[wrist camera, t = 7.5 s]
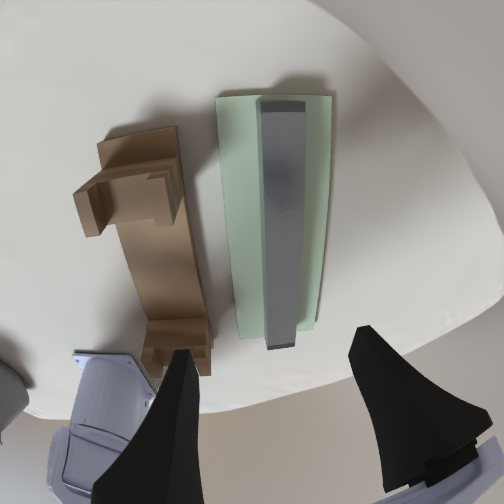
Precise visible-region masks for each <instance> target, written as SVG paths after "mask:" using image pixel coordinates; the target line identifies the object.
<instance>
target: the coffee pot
mask: <svg viewBox="0 0 504 504" xmlns="http://www.w3.org/2000/svg"><path fill="white" fill-rule="evenodd" d="M28 404H29V396H28V392H27V390H26V388H25V386H24V382H23V380H22V379H21V378H20V376H19V375H18V374H17V373H16V372H15V371H13V370H12V369H11V368H10V367H8V366H7V365H6V364H4V363H3V362H1V361H0V444H1V445H2V442H1V432H2V431H3V430H4V429H5V428H6V427H7V426H8V425H9V424H10V423H11V422H12V421H13V420H14V419H15V418H16V417H17V416H18V415H19V413H21V412H22V411H23V410H24V409H25V408H26V407H27V406H28Z"/></svg>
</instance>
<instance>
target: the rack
mask: <svg viewBox="0 0 504 504" xmlns="http://www.w3.org/2000/svg"><path fill="white" fill-rule="evenodd" d="M97 148H98V153H99V158H100V163H101V168H102V170H101V171H100V172H99V173H97V174H96V175H95V176H94V177H92V178H91V179H90V180H89V181H88V182H86V183H85V184H84V185H83V186H82V187H80V188H79V189H78V190H77V191H76V192H75V193H73V197H74V201H75V204H76V208H77V211H78V215H79V218H80V221H81V224H82V227H83V230H84V233H85V236H86V237H93V236H100V234H101V233H102V231H103V230H104V229H105V227H106V226H107V225H110V224H115V225H116V228H117V232H118V235H119V238H120V242H121V245H122V248H123V251H124V254H125V258H126V261H127V264H128V267H129V270H130V272H131V275H132V278H133V281H134V284H135V287H136V289H137V292H138V295H139V297H140V300H141V303H142V305H143V308H144V310H145V313H146V315H147V318H148V320H149V322H148V327H147V331H146V336H145V341H144V346H143V352H142V357H141V361H142V363H143V365H144V366H145V368H146V370H147V371H148V373H149V375H150V377H151V378H161V377H162V368H163V366H169V363H170V361H171V358H172V355H173V351H175V350H180V349H190V352H191V355H192V358H193V361H194V363H195V365H196V367H197V370H198V372H199V375H200V376H211V348H213V337H212V332H211V328H210V324H209V319H208V315H207V310H206V305H205V301H204V296H203V291H202V286H201V281H200V276H199V271H198V266H197V260H196V255H195V250H194V244H193V239H192V233H191V227H190V221H189V215H188V209H187V202H186V196H185V189H184V182H183V175H182V168H181V161H180V153H179V145H178V137H177V128H176V126H174V127H168V128H162V129H156V130H150V131H145V132H140V133H135V134H130V135H125V136H121V137H116V138H112V139H108V140H104V141H101V142H99V143H97Z"/></svg>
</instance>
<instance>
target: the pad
mask: <svg viewBox="0 0 504 504" xmlns="http://www.w3.org/2000/svg"><path fill="white" fill-rule="evenodd" d="M265 100H298V101H305V104H306V164H305V203H304V228H303V247H302V264H301V279H300V292H299V305H298V316H297V327H296V332H300V331H307V330H313V329H314V323H315V316H316V309H317V302H318V295H319V288H320V280H321V271H322V263H323V254H324V244H325V234H326V223H327V210H328V197H329V181H330V161H331V128H332V96H322V95H291V94H277V95H246V96H230V97H218V98H215V102H216V116H217V128H218V140H219V152H220V164H221V175H222V186H223V196H224V206H225V216H226V226H227V236H228V245H229V255H230V264H231V273H232V281H233V290H234V299H235V307H236V315H237V323H238V331H239V339H246V338H255V337H264V336H265V335H264V307H263V274H262V244H261V217H260V191H259V167H258V144H257V122H256V101H265Z"/></svg>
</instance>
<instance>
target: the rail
mask: <svg viewBox="0 0 504 504" xmlns="http://www.w3.org/2000/svg"><path fill="white" fill-rule="evenodd" d="M256 122H257V144H258V167H259V191H260V217H261V244H262V274H263V307H264V335H265V340H266V345H267V350H273V349H281V348H288V347H294V346H295V338H296V327H297V316H298V305H299V292H300V279H301V264H302V247H303V228H304V203H305V164H306V104H305V101H298V100H265V101H256Z"/></svg>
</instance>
